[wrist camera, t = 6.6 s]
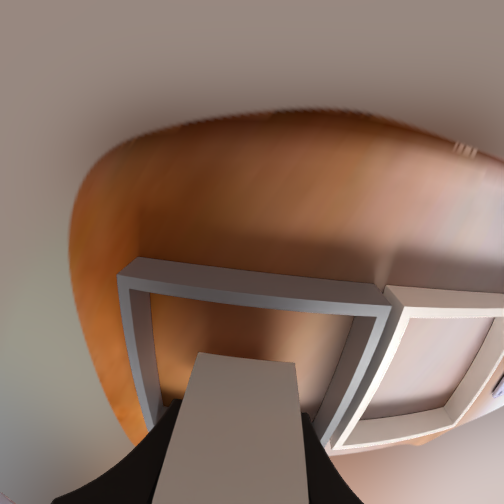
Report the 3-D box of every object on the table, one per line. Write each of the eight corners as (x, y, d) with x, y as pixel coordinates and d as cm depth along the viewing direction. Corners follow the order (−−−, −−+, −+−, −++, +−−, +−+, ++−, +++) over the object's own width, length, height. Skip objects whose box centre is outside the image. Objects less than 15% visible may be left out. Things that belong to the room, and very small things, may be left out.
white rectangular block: (294, 362, 11) (309, 523, 4) (278, 417, 12) (280, 541, 5) (198, 351, 11) (150, 507, 4) (199, 408, 12) (170, 530, 5)
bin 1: (374, 283, 11) (391, 306, 9) (318, 426, 14) (322, 450, 13) (137, 256, 11) (116, 274, 9) (156, 408, 15) (148, 431, 13)
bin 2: (508, 293, 11) (526, 307, 9) (444, 410, 14) (454, 427, 12) (385, 284, 11) (404, 306, 9) (327, 426, 14) (331, 450, 13)
